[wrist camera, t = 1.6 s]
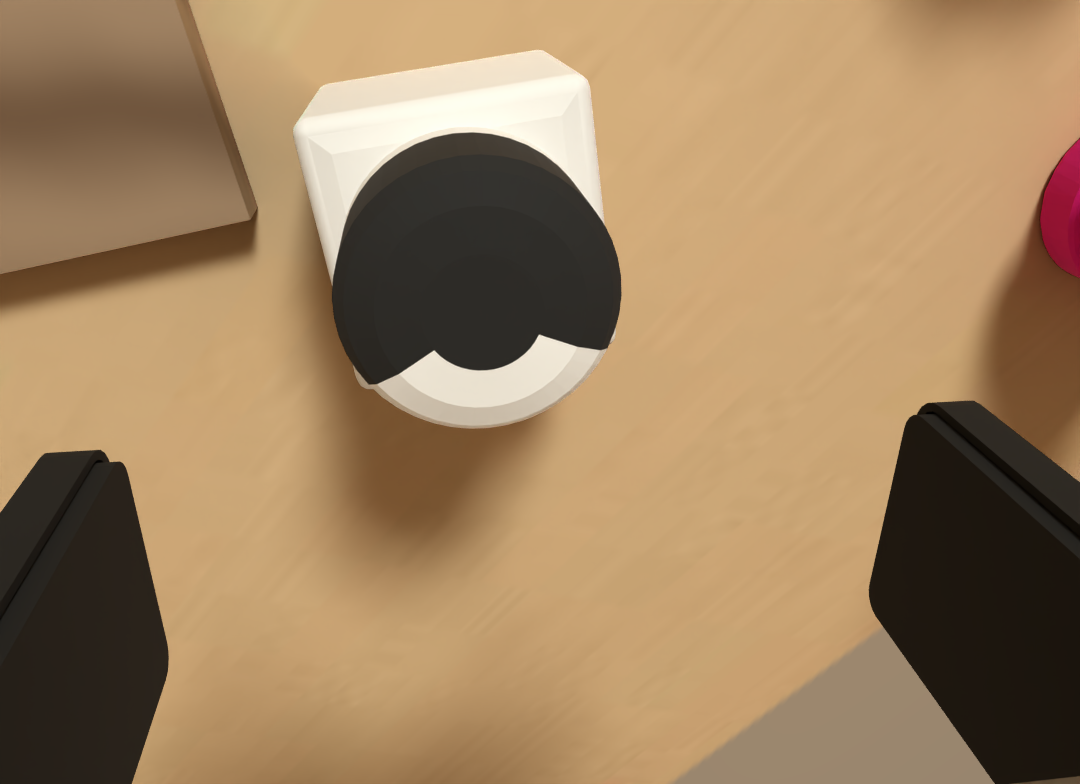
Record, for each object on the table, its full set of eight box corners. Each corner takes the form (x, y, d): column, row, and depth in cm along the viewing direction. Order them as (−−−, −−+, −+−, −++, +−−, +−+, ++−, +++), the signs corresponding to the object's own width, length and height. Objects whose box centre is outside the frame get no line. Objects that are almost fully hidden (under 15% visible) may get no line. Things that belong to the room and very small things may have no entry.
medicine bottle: (315, 84, 27) (255, 166, 16) (547, 46, 27) (640, 102, 16) (368, 303, 30) (348, 494, 19) (574, 267, 30) (668, 433, 20)
